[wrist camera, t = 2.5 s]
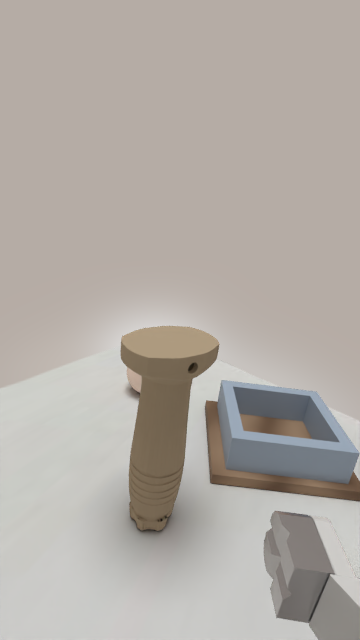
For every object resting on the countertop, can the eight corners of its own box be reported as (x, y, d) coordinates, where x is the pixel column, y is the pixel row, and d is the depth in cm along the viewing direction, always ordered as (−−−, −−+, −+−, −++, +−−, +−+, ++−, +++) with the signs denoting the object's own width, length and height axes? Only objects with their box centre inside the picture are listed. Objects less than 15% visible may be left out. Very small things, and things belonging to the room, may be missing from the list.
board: (315, 420, 41) (317, 414, 41) (363, 501, 30) (366, 492, 29) (205, 407, 41) (206, 400, 40) (210, 482, 29) (212, 474, 29)
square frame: (309, 416, 40) (316, 391, 39) (348, 484, 30) (359, 453, 29) (217, 405, 40) (221, 380, 39) (225, 469, 30) (232, 437, 29)
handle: (201, 520, 26) (233, 347, 21) (128, 564, 22) (147, 365, 17) (167, 478, 29) (188, 322, 24) (99, 510, 26) (109, 332, 21)
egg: (142, 406, 39) (147, 356, 37) (117, 389, 42) (120, 342, 40) (169, 393, 43) (175, 347, 41) (145, 378, 46) (149, 334, 44)
